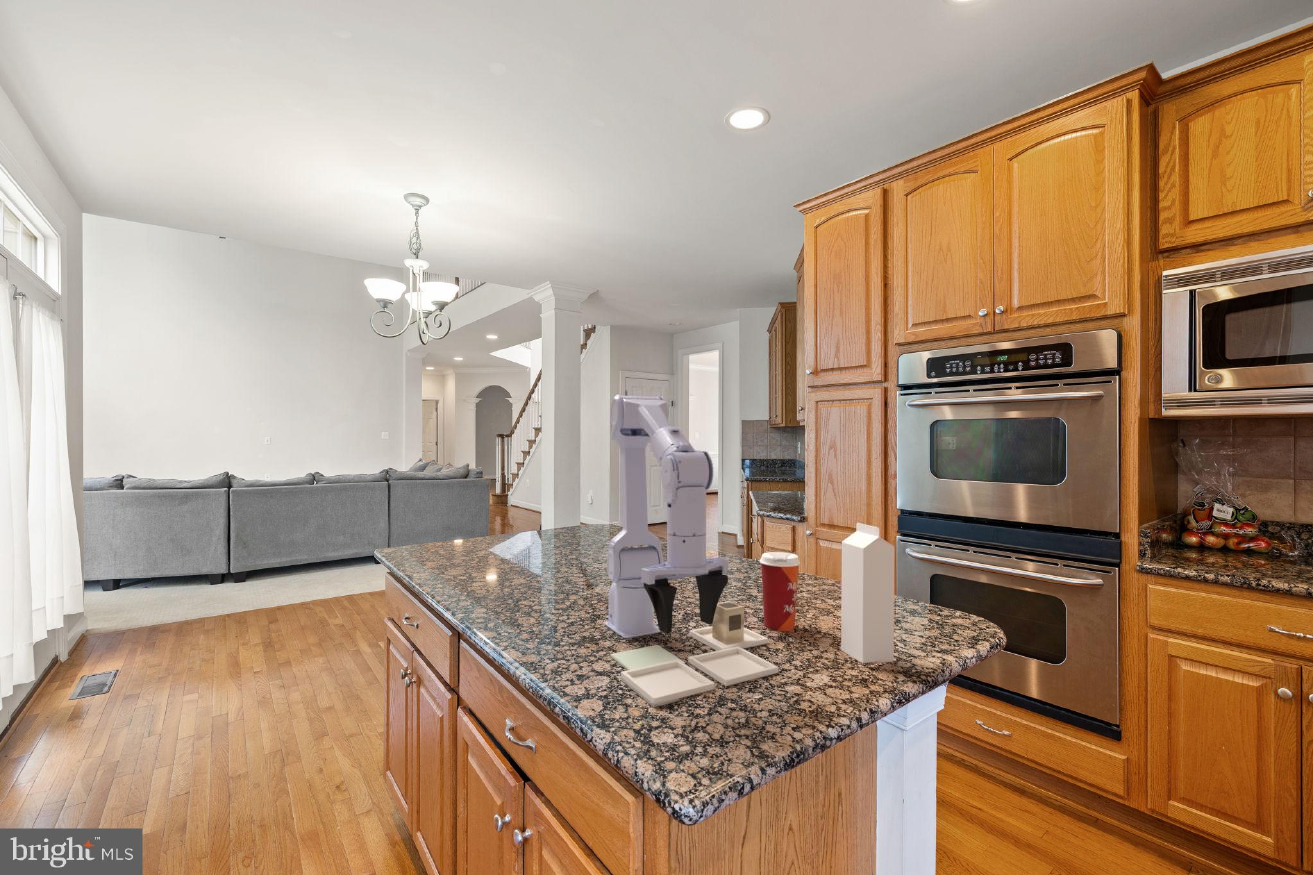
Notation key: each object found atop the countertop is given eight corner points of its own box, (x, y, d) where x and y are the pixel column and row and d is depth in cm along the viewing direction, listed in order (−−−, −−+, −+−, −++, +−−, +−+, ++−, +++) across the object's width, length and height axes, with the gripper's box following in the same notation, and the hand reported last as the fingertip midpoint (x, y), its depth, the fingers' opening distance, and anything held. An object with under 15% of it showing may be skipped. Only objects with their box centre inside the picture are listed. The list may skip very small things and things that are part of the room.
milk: (862, 666, 91) (863, 528, 91) (840, 652, 97) (840, 523, 97) (894, 661, 93) (895, 526, 93) (870, 648, 99) (871, 521, 99)
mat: (610, 656, 94) (610, 654, 94) (657, 647, 98) (657, 644, 98) (635, 676, 86) (635, 673, 86) (685, 665, 91) (685, 662, 91)
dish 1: (620, 679, 85) (620, 671, 85) (677, 666, 90) (677, 659, 90) (653, 707, 76) (653, 698, 76) (714, 691, 81) (714, 683, 81)
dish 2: (689, 637, 103) (689, 630, 103) (733, 628, 108) (733, 622, 108) (721, 655, 95) (721, 648, 95) (768, 645, 100) (768, 638, 100)
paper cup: (801, 636, 104) (801, 560, 104) (758, 633, 106) (759, 558, 106) (799, 623, 112) (799, 552, 112) (759, 620, 114) (760, 550, 114)
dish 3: (688, 664, 91) (688, 657, 91) (738, 653, 96) (738, 646, 96) (725, 688, 82) (725, 680, 82) (778, 674, 87) (778, 667, 87)
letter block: (712, 637, 102) (712, 603, 102) (730, 633, 104) (730, 600, 104) (725, 644, 99) (726, 609, 99) (744, 640, 101) (744, 606, 101)
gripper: (661, 541, 76) (661, 644, 76) (741, 532, 84) (741, 625, 84) (633, 535, 82) (633, 630, 82) (711, 527, 90) (711, 613, 90)
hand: (686, 626), depth 83 cm, fingers open, 7 cm apart
